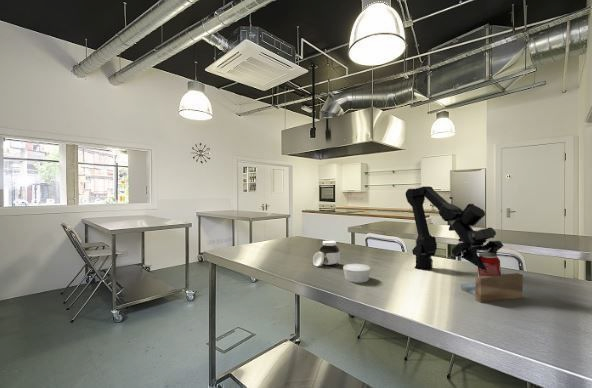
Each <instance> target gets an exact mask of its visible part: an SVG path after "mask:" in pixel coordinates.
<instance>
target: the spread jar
mask: <svg viewBox="0 0 592 388" xmlns="http://www.w3.org/2000/svg"><path fill="white" fill-rule="evenodd" d="M340 261H341V251H340V247H338V245H337V241H336V240H323V241H322V245H321V246H320V248H319V250H318V252H315V254H314V255H313V258H312V263H313V264H312V265H314V266H315V267H321V266H324V267H329V268H331V267H336V266H337V265H338V264H339V263H340Z"/></svg>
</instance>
